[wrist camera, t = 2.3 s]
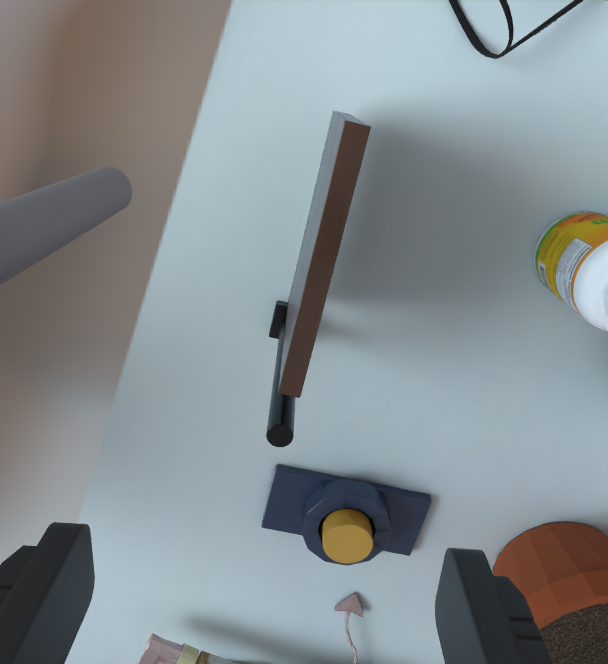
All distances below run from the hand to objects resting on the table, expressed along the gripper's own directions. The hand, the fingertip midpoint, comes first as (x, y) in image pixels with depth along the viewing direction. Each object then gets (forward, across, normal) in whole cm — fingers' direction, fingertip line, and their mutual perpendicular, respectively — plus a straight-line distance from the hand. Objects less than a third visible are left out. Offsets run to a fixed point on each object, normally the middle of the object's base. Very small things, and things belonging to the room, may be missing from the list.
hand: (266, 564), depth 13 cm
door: (+24, -1, -3) cm, 25 cm away
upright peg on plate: (+26, 0, +4) cm, 26 cm away
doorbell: (+26, -5, +20) cm, 33 cm away
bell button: (+24, -5, +20) cm, 31 cm away
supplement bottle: (+26, -18, -2) cm, 31 cm away
